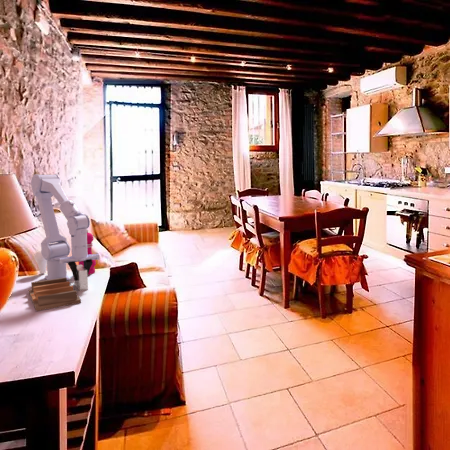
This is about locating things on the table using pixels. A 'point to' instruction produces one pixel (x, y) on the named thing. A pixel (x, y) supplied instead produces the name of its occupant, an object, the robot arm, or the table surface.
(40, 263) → the lightbulb
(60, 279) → the rack
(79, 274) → the wooden block
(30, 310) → the table surface
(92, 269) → the pepper mill
